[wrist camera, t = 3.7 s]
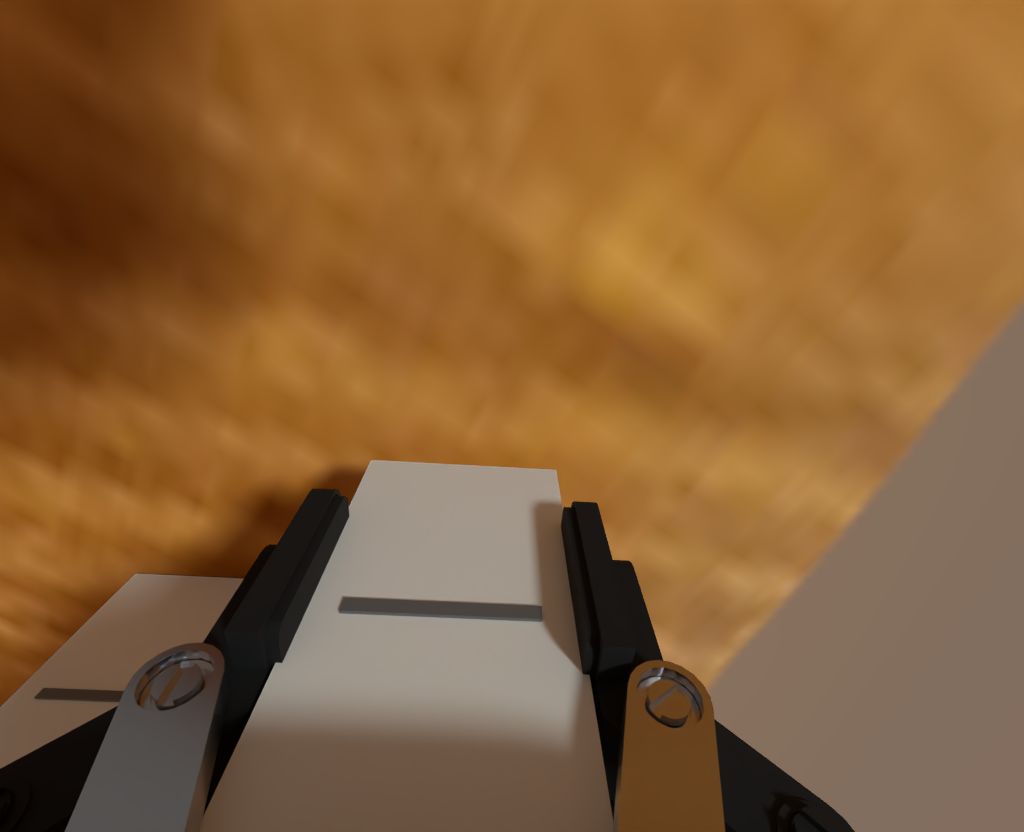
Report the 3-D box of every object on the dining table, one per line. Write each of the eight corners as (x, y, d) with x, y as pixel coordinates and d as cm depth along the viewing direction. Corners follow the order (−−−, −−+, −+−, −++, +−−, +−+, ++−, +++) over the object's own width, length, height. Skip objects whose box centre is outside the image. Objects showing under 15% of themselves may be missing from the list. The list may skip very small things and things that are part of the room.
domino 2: (370, 457, 13) (94, 1038, 4) (556, 467, 14) (651, 1044, 5) (374, 508, 14) (142, 1095, 5) (550, 517, 14) (622, 1098, 5)
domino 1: (134, 571, 19) (-226, 926, 10) (270, 578, 19) (43, 932, 10) (144, 606, 19) (-185, 970, 10) (275, 612, 20) (68, 975, 10)
